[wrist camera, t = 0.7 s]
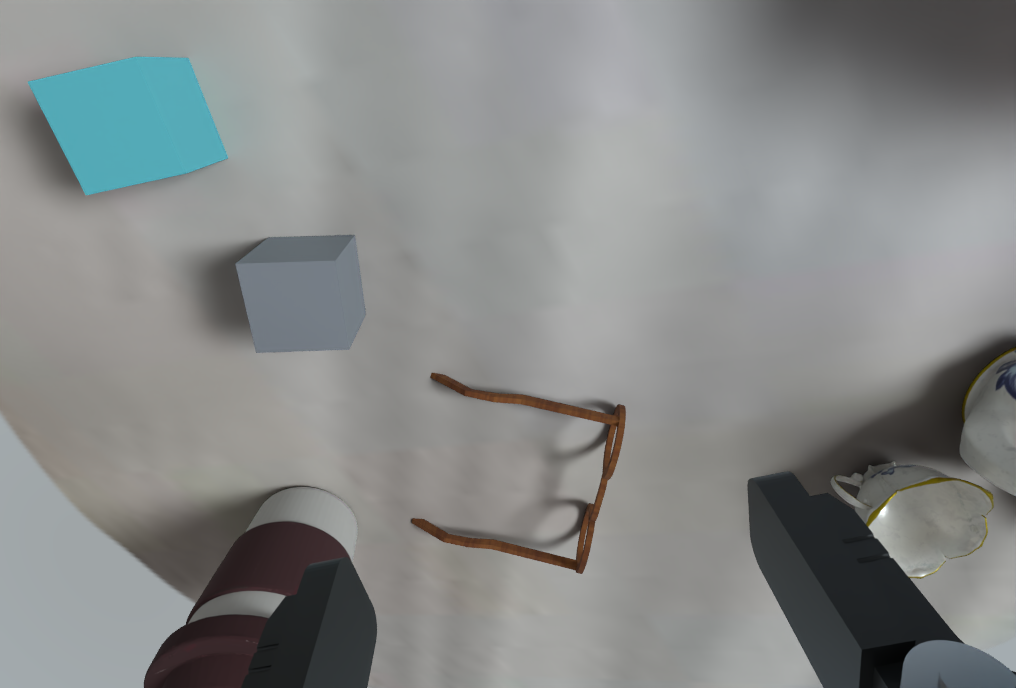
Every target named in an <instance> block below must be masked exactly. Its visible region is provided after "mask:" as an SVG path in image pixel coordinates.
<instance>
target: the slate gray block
mask: <svg viewBox="0 0 1016 688" xmlns="http://www.w3.org/2000/svg"><path fill="white" fill-rule="evenodd" d="M235 265H236V269H237V273H238V277H239V282H240V286H241V290H242V295H243V299H244V303H245V307H246V312H247V316H248V320H249V324H250V329H251V333H252V337H253V341H254V346H255V350H256V353H263V352H292V351H321V350H349V349H350V347H351V345H352V343H353V341H354V338H355V336H356V334H357V332H358V330H359V328H360V326H361V324H362V322H363V320H364V317H365V315H366V311H365V304H364V297H363V289H362V282H361V275H360V268H359V260H358V253H357V246H356V239H355V235H335V236H301V237H268V238H267V239H266V240H264V241H263V242H262V243H261V244H259V245H258V246H257V247H256V248H254V249H253V250H252V251H251V252H249V253H248V254H247V255H246V256H244V257H243V258H242V259H241V260H239V261H238V262H237V263H236V264H235Z"/></svg>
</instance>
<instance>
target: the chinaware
mask: <svg viewBox="0 0 1016 688" xmlns="http://www.w3.org/2000/svg"><path fill="white" fill-rule="evenodd" d="M962 419H963V423H964V427H963V431H962V435H961V443H960V455H961V457H962V459H963V460H964V461H965V462H966V464H967V465H968V466H969V467H971V468H972V469H973V470H974V471H975V472H976V473H978V474H979V475H980V476H982V477H983V478H984V479H986V480H987V481H989V482H990V483H992V484H993V485H995V486H997V487H998V488H1000V489H1002V490H1004V491H1006V492H1008V493H1010V494H1012V495H1014V496H1016V347H1014V348H1012V349H1010V350H1008V351H1006V352H1004V353H1003V354H1001V355H1000V356H998V357H997V358H995V359H994V360H993V361H991V362H990V363H989V364H988V365H987V366H986V367H985V368H984V369H983V370H982V371H981V372H980V373H979V374H978V375H977V376H976V378H975V379H974V380H973V382H972V383H971V385H970V386H969V388H968V390H967V392H966V395H965V397H964V400H963V405H962ZM895 464H896V461H893V462H892V463H890V464H882V465H877V466H871V465H869V466H868V470H867V472H866V473H865V474H864V475H863V476H862V475H861V474H859V473H854V474H852V475H851V477H850V478H849V477H845V476H841V475H835V476H833V477H832V479H831V485H832V487H833V489H834V490H835V491H836V492H837V494H838V495H839V496H841V497H842V498H843V499H844V500H845V501H846V502H848V503H849V504H851V505H853V506H855V512H856V513H857V514H858V515H859V516H860V518H861V519H862V520H863V521H864V523H865V524H866V525H867V526H868V528H869V529H870V530H871V531H872V533H873V535H874V537H875V538H877V539H878V540H879V541H880V542H881V544H882V545H883V546H884V547H885V549H886V550H887V551H888V552H889V556H890V557H891V558H894V560H895V561H896V562H897V563H898V565H899V566H900V567H901V568H902V570H903V571H904V572H905V573H906V575H907V576H908V577H909V578H919V579H921V578H924V577H925V576H928V575H931V574H933V573H935V572H936V571H937V570H938V569H939V568H940V567H941V566H942V565H943V563H944V562H946V560H945V557H947V558H949V559H952V558H957V557H963V556H967V555H969V554H971V553H972V552H974V551H975V550H977V549H979V548H980V547H982V545H983V542H984V540H985V538H986V536H987V533H988V528H987V521H986V517H985V516H986V515H987V514H988V513H989V512H990V511H991V510H992V509H993V507H994V503H993V494H992V493H991V492H990V491H988V490H986V489H984V488H982V487H980V486H978V485H976V484H973V483H971V482H968V481H965V480H961V479H957V478H953V477H949V476H947V475H945V474H943V473H941V472H939V471H937V470H935V469H932V468H928V467H924V466H918V465H897V466H896V465H895ZM837 481H842V482H846V483H849V484H852V485H855V486H859V488H860V490H859V492H858V495H857V498H855V497H853V496H852V495H851V494H849V493H848V492H847V491H845V490H844V489H843V488H842V487H841V486H840V485H839V484H838V483H837ZM983 515H985V516H983Z"/></svg>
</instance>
